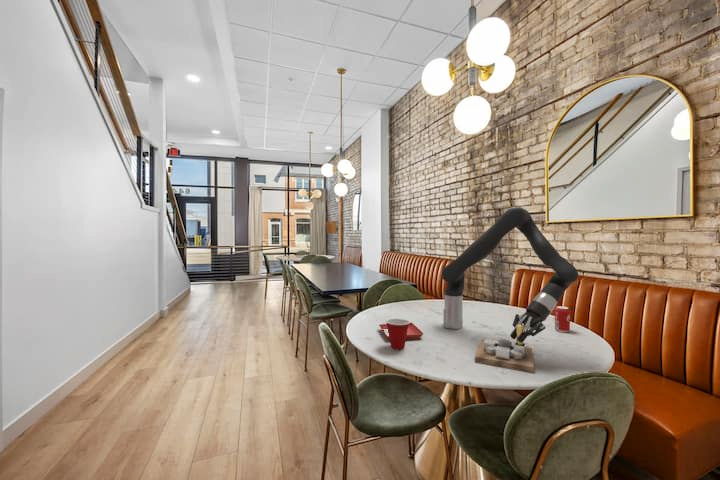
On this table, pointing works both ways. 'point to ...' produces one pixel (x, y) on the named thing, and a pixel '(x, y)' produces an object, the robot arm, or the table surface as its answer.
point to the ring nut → (505, 349)
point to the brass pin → (519, 330)
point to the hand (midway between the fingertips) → (515, 339)
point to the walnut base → (517, 364)
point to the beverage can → (562, 319)
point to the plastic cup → (397, 332)
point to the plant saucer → (411, 331)
